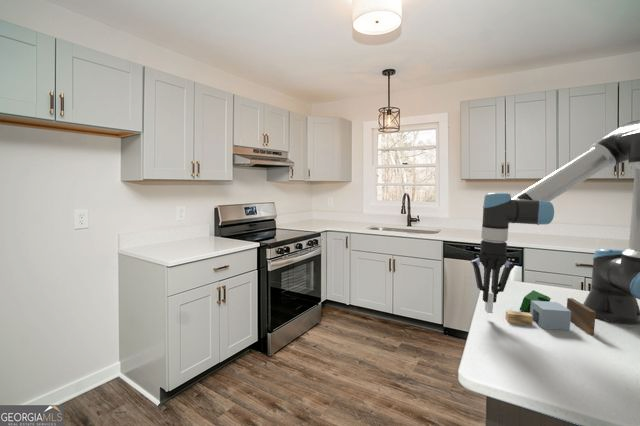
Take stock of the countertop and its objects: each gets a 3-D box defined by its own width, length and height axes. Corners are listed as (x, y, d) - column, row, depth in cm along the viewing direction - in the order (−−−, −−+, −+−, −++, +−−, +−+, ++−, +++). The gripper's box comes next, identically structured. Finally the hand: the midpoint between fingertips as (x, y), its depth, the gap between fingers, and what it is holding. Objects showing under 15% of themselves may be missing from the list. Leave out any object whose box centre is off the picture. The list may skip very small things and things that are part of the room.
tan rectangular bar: (529, 321, 110) (529, 312, 109) (532, 325, 107) (532, 316, 106) (505, 319, 111) (505, 310, 111) (507, 322, 109) (508, 313, 108)
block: (555, 319, 111) (557, 302, 110) (569, 330, 103) (571, 311, 102) (529, 317, 112) (530, 300, 112) (541, 327, 104) (542, 309, 104)
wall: (570, 318, 112) (572, 298, 111) (593, 334, 100) (595, 311, 100) (565, 318, 112) (567, 298, 112) (588, 334, 100) (590, 311, 100)
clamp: (535, 327, 115) (541, 308, 111) (517, 318, 119) (522, 299, 115) (548, 307, 122) (554, 289, 117) (530, 299, 126) (535, 281, 121)
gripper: (511, 239, 111) (505, 308, 113) (469, 237, 113) (464, 305, 115) (520, 243, 103) (514, 317, 106) (475, 241, 105) (470, 314, 108)
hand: (488, 311), depth 110 cm, fingers closed
